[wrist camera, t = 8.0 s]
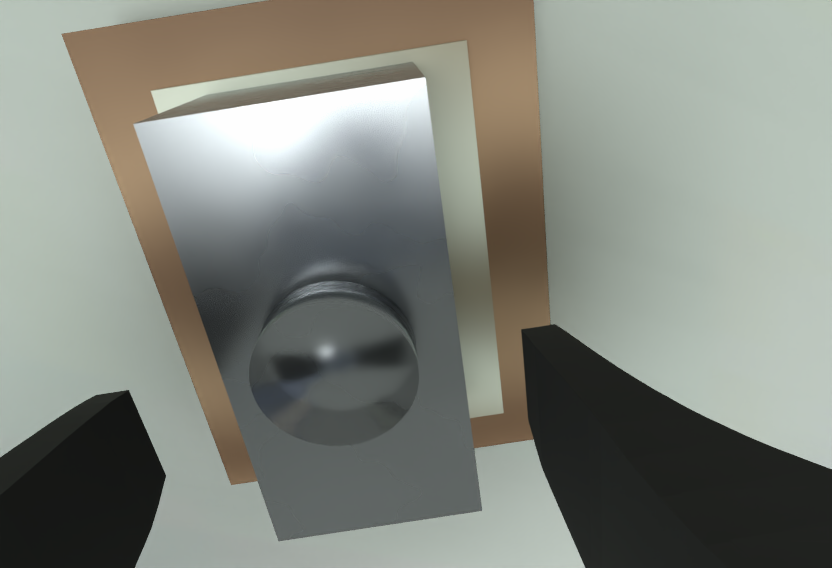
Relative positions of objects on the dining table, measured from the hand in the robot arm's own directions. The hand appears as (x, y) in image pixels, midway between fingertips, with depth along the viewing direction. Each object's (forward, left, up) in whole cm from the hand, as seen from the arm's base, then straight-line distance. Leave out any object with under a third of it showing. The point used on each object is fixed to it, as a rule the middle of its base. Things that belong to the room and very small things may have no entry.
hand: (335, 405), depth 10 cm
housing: (0, 0, -6) cm, 6 cm away
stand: (0, 0, -9) cm, 9 cm away
